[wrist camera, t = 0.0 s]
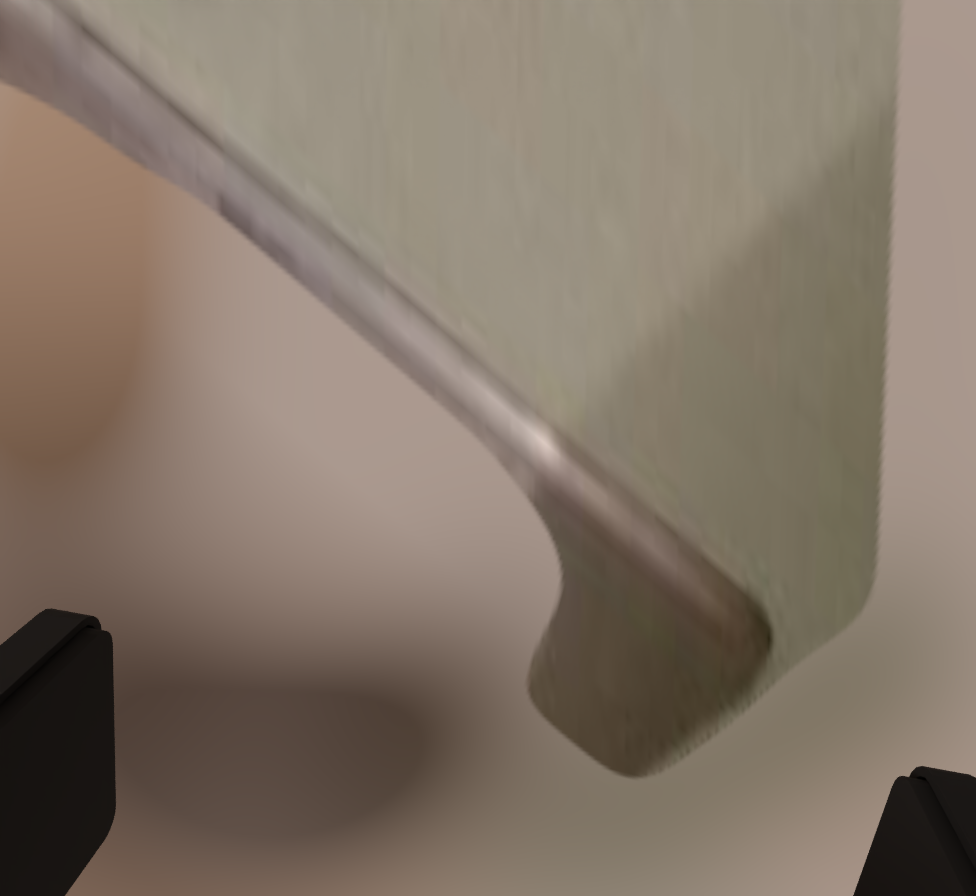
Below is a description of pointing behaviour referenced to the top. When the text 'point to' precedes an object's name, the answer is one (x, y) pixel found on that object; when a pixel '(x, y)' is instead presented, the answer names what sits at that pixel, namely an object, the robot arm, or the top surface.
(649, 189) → the top surface
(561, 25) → the top surface
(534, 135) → the top surface
